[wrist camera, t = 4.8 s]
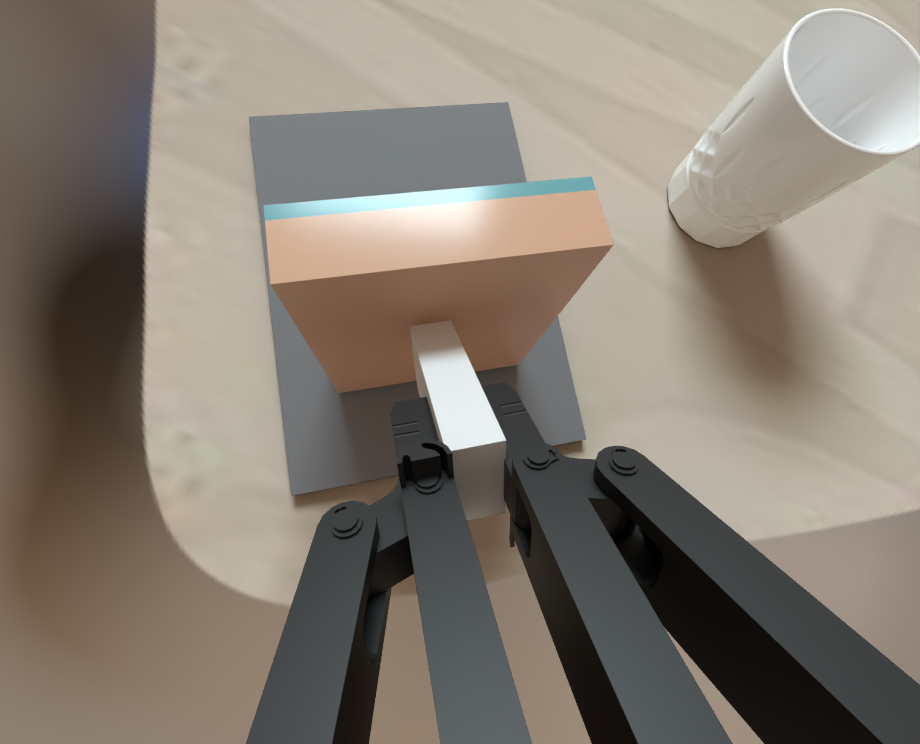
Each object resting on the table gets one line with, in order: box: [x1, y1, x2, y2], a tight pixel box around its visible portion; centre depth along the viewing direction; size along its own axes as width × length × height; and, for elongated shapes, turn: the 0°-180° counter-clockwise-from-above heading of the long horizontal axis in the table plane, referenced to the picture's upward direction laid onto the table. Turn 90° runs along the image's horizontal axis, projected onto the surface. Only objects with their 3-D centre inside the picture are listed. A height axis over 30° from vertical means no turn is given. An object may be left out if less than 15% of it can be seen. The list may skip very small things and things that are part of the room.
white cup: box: [668, 8, 920, 248], centre depth 25 cm, size 8×8×10 cm
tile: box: [264, 177, 614, 393], centre depth 19 cm, size 2×10×12 cm, turn 101°
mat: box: [249, 102, 586, 496], centre depth 26 cm, size 22×16×1 cm
